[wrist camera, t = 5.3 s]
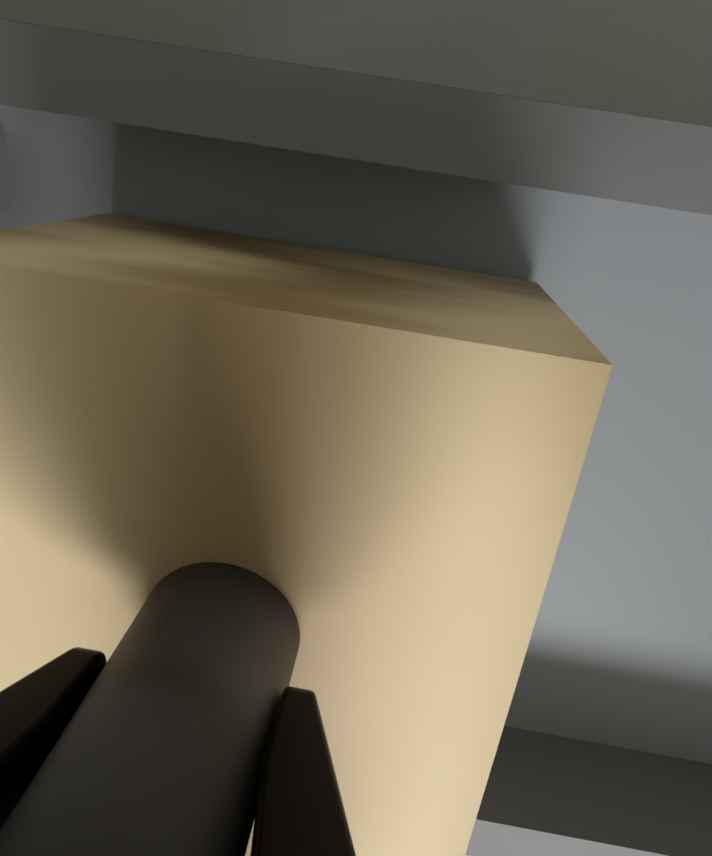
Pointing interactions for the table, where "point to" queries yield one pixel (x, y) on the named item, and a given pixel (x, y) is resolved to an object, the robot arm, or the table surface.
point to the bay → (482, 253)
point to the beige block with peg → (273, 523)
